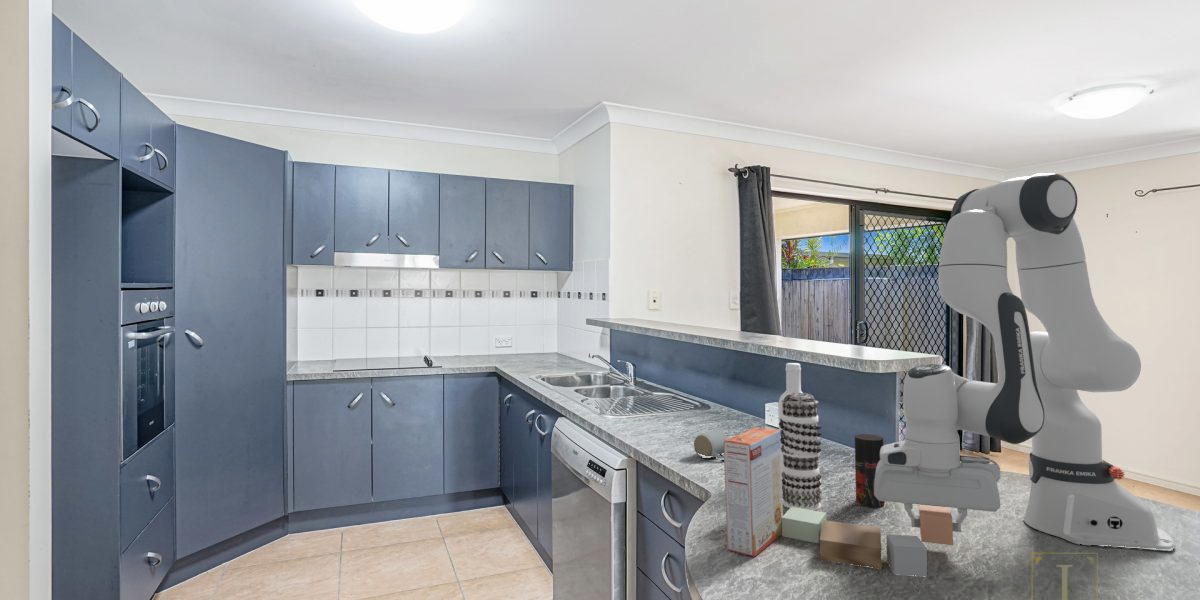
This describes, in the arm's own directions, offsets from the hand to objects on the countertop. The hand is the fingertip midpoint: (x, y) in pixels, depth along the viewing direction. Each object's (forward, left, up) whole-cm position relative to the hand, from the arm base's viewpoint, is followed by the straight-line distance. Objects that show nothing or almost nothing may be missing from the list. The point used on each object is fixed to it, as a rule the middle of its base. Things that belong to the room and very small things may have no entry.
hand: (935, 528), depth 110 cm
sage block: (+23, +1, -4) cm, 23 cm away
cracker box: (+31, +9, -4) cm, 33 cm away
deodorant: (+12, -23, -4) cm, 26 cm away
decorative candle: (+26, -16, -4) cm, 31 cm away
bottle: (+30, -34, -4) cm, 45 cm away
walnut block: (+14, +7, -5) cm, 16 cm away
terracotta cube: (0, 0, -2) cm, 2 cm away
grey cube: (+5, +10, -4) cm, 12 cm away
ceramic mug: (+55, -47, -4) cm, 73 cm away
